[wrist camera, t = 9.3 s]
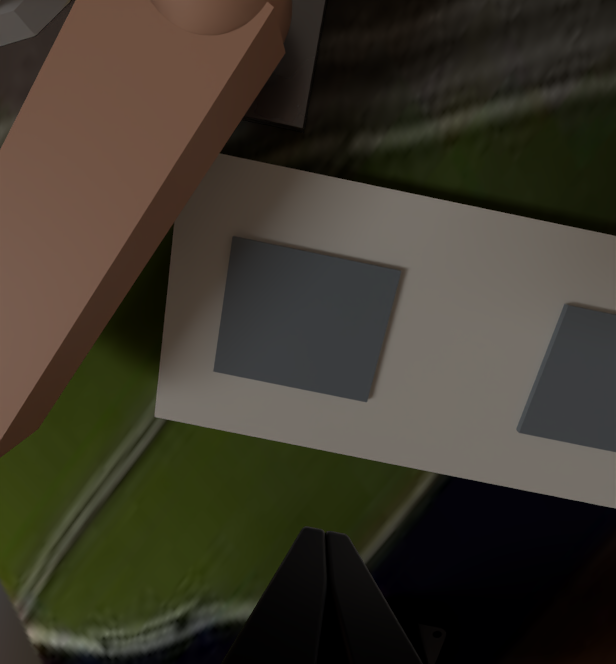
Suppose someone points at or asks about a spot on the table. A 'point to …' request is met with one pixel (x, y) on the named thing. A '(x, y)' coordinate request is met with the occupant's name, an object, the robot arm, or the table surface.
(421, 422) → the panel
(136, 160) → the cable arm
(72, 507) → the table surface
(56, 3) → the french press
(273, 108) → the dark plate
